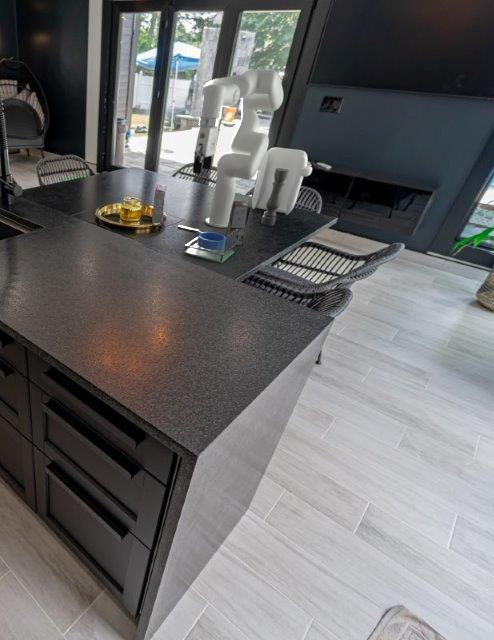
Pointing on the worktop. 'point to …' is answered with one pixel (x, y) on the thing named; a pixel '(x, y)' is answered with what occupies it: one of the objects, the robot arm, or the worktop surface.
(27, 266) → the worktop surface
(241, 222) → the coffee box
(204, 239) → the pan
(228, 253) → the dish rack
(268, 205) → the candle holder
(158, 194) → the candy bar box
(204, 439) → the worktop surface
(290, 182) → the toaster
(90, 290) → the worktop surface
